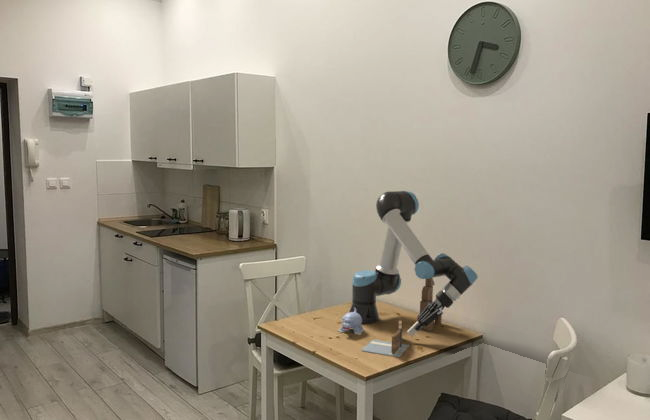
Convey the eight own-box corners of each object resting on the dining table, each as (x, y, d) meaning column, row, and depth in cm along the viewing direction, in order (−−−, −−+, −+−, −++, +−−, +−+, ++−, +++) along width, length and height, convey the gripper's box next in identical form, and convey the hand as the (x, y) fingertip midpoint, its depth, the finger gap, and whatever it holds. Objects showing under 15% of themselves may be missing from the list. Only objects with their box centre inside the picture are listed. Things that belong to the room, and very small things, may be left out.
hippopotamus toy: (333, 335, 239) (334, 314, 238) (344, 326, 253) (344, 306, 252) (357, 338, 235) (357, 317, 234) (366, 328, 249) (366, 308, 248)
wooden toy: (430, 331, 247) (432, 278, 245) (416, 328, 251) (418, 276, 249) (442, 323, 260) (444, 272, 258) (429, 321, 264) (431, 271, 262)
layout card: (361, 351, 220) (361, 350, 220) (372, 340, 233) (372, 339, 233) (399, 357, 213) (399, 356, 213) (408, 345, 227) (408, 344, 227)
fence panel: (400, 345, 226) (401, 328, 225) (398, 344, 226) (398, 328, 225) (401, 335, 238) (401, 320, 237) (398, 335, 238) (398, 320, 237)
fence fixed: (390, 355, 216) (391, 336, 215) (398, 346, 226) (398, 328, 225) (394, 355, 215) (395, 337, 214) (401, 347, 225) (402, 329, 224)
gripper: (459, 305, 227) (419, 345, 226) (448, 297, 240) (410, 335, 239) (447, 293, 226) (407, 333, 225) (437, 286, 239) (399, 323, 238)
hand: (409, 334), depth 232 cm, fingers closed
